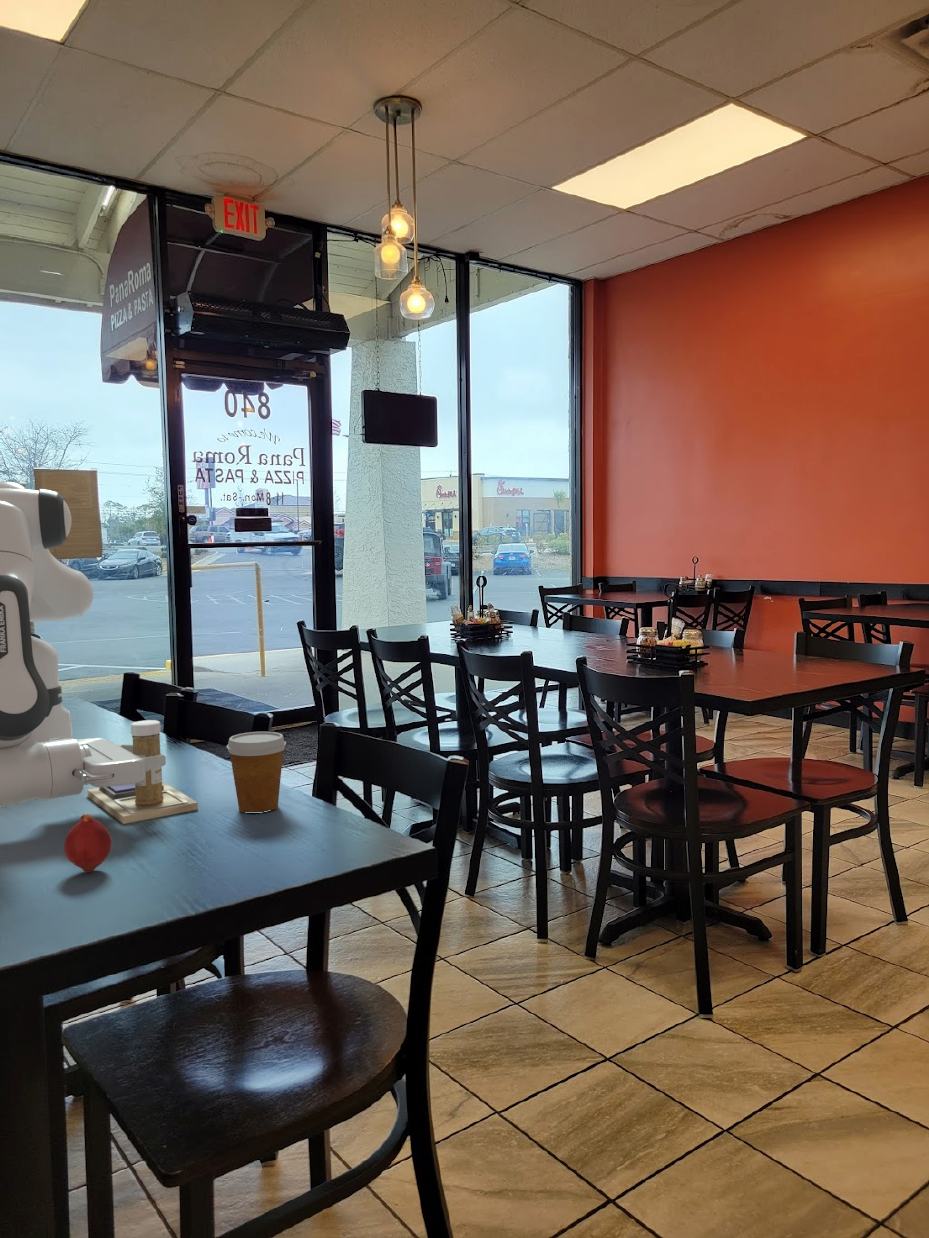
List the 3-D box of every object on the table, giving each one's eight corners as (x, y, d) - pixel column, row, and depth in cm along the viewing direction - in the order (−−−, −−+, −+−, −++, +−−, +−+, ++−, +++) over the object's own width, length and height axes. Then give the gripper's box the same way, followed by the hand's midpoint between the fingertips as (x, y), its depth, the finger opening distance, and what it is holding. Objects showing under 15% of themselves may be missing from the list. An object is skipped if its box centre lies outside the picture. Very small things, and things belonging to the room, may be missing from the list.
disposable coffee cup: (216, 814, 145) (214, 741, 144) (250, 798, 154) (248, 729, 153) (267, 819, 142) (265, 745, 141) (298, 803, 151) (296, 733, 150)
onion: (78, 863, 123) (75, 806, 122) (119, 863, 123) (117, 806, 122) (57, 879, 117) (54, 819, 117) (101, 879, 117) (98, 819, 116)
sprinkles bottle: (166, 803, 147) (163, 722, 146) (138, 807, 145) (134, 725, 144) (160, 796, 151) (156, 718, 150) (131, 801, 149) (127, 721, 147)
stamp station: (87, 796, 156) (86, 782, 156) (156, 784, 163) (155, 771, 163) (123, 823, 140) (122, 809, 140) (197, 809, 148) (197, 795, 147)
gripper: (82, 760, 131) (176, 746, 139) (48, 736, 147) (133, 725, 155) (84, 802, 131) (177, 785, 140) (50, 774, 147) (135, 761, 156)
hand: (154, 754), depth 148 cm, fingers open, 8 cm apart
